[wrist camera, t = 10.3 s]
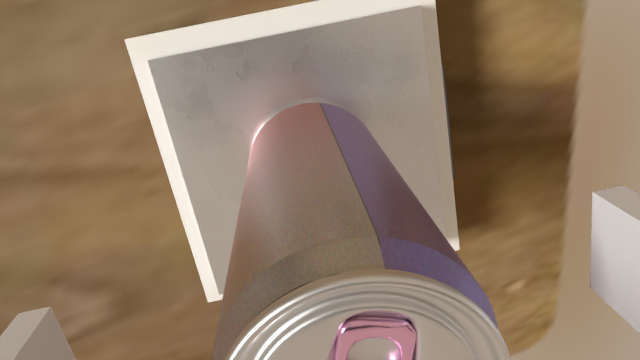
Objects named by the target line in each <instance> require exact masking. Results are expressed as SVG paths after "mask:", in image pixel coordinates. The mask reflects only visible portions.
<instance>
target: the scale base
mask: <svg viewBox="0 0 640 360" xmlns="http://www.w3.org/2000/svg"><path fill="white" fill-rule="evenodd" d="M413 5H421V13H422V23H423V32H424V41H425V50H426V60H427V69H428V78H429V87H430V97H431V106H432V115H433V124H434V134H435V143H436V152H437V161H438V171H439V180H440V189H441V198H442V208H443V217H444V226H445V235H446V239H447V241H448V242H449V243H450V245H451V246H452V248H453V249H454V250H455V251H456V250H460V248H459V238H458V228H457V218H456V207H455V197H454V187H453V180H455V176H454V166H453V155H452V145H451V135H450V124H449V114H448V103H447V93H446V83H445V72H444V65H442V64H441V54H440V44H439V34H438V23H437V13H436V3H435V0H316V1H311V2H306V3H301V4H296V5H291V6H286V7H281V8H276V9H271V10H266V11H261V12H256V13H251V14H246V15H242V16H237V17H232V18H227V19H222V20H217V21H212V22H207V23H202V24H197V25H192V26H187V27H182V28H177V29H172V30H167V31H162V32H157V33H152V34H147V35H142V36H138V37H133V38H129V39H125V43H126V46H127V49H128V52H129V55H130V58H131V61H132V65H133V68H134V71H135V74H136V77H137V80H138V83H139V87H140V90H141V93H142V96H143V99H144V102H145V105H146V109H147V112H148V115H149V118H150V121H151V124H152V127H153V131H154V134H155V137H156V140H157V143H158V146H159V149H160V153H161V156H162V159H163V162H164V165H165V168H166V171H167V174H168V178H169V181H170V184H171V187H172V190H173V193H174V196H175V200H176V203H177V206H178V209H179V212H180V215H181V218H182V222H183V225H184V228H185V231H186V234H187V237H188V240H189V244H190V247H191V250H192V253H193V256H194V259H195V262H196V266H197V269H198V272H199V275H200V278H201V281H202V284H203V288H204V291H205V294H206V297H207V300H208V302H212V301H217V300H222V298H223V294H220V295H219V292H218V289H217V286H216V282H215V279H214V276H213V273H212V269H211V266H210V263H209V260H208V256H207V253H206V250H205V247H204V243H203V240H202V237H201V234H200V230H199V227H198V224H197V221H196V217H195V214H194V211H193V207H192V204H191V201H190V198H189V194H188V191H187V188H186V185H185V181H184V178H183V175H182V172H181V168H180V165H179V162H178V159H177V155H176V152H175V149H174V146H173V142H172V139H171V136H170V133H169V129H168V126H167V123H166V120H165V116H164V113H163V110H162V106H161V103H160V100H159V97H158V93H157V90H156V87H155V84H154V80H153V77H152V74H151V71H150V67H149V64H148V61H147V60H150V59H152V58H156V57H161V56H166V55H171V54H175V53H180V52H185V51H190V50H195V49H200V48H205V47H210V46H215V45H220V44H225V43H230V42H235V41H240V40H245V39H250V38H255V37H260V36H265V35H270V34H275V33H279V32H284V31H289V30H294V29H299V28H304V27H309V26H314V25H319V24H324V23H329V22H334V21H339V20H344V19H349V18H354V17H359V16H364V15H369V14H374V13H379V12H383V11H388V10H393V9H398V8H403V7H408V6H413Z"/></svg>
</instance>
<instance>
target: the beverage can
mask: <svg viewBox="0 0 640 360" xmlns="http://www.w3.org/2000/svg"><path fill="white" fill-rule="evenodd" d="M212 360H511V359H510V355H509V352H508V349H507V346H506V344H505V342H504V340H503V338H502V336H501V334H500V332H499V330H498V325H497V321H496V317H495V314H494V311H493V308H492V306H491V304H490V302H489V300H488V298H487V296H486V294H485V293H484V291H483V289H482V288H481V287H480V285H479V284H478V282H477V281H476V280H475V278H474V277H473V275H472V274H471V273H470V271H469V270H468V268H467V267H466V266H465V264H464V263H463V262H462V260H461V259H460V257H459V256H458V255H457V253H456V252H455V250H454V249H453V248H452V246H451V245H450V243H449V242H448V241H447V239H446V238H445V236H444V235H443V234H442V232H441V231H440V229H439V228H438V227H437V225H436V224H435V222H434V221H433V220H432V218H431V217H430V215H429V214H428V213H427V211H426V210H425V209H424V207H423V206H422V204H421V203H420V202H419V200H418V199H417V197H416V196H415V195H414V193H413V192H412V190H411V189H410V188H409V186H408V185H407V183H406V182H405V181H404V179H403V178H402V176H401V175H400V174H399V172H398V171H397V169H396V168H395V167H394V165H393V164H392V162H391V161H390V160H389V158H388V157H387V155H386V154H385V153H384V151H383V150H382V149H381V147H380V146H379V144H378V143H377V142H376V140H375V139H374V137H373V136H372V135H371V133H370V132H369V130H368V129H367V128H366V126H365V125H364V124H363V123H362V122H361V121H360V120H359V119H358V118H357V117H356V116H354V115H353V114H351V113H350V112H348V111H347V110H345V109H342V108H340V107H338V106H334V105H331V104H326V103H304V104H299V105H295V106H292V107H289V108H287V109H285V110H283V111H281V112H279V113H278V114H276V115H275V116H274V117H272V118H271V119H270V120H269V121H268V122H267V123H266V124H265V125H264V126H263V127H262V129H261V130H260V131H259V133H258V134H257V136H256V138H255V140H254V142H253V145H252V148H251V151H250V156H249V161H248V166H247V172H246V177H245V182H244V187H243V193H242V198H241V203H240V209H239V214H238V219H237V224H236V230H235V235H234V240H233V245H232V251H231V256H230V261H229V266H228V272H227V277H226V282H225V288H224V293H223V298H222V303H221V309H220V314H219V319H218V324H217V330H216V335H215V340H214V346H213V351H212Z"/></svg>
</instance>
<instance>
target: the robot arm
mask: <svg viewBox="0 0 640 360" xmlns="http://www.w3.org/2000/svg"><path fill="white" fill-rule="evenodd" d="M590 273H591V274H590V288H591V289H592V290H593V291H595V292H596V293H597V294H598V295H599V296H600V297H601V298H602V299H603V300H604V301H605V302H606V303H607V304H609V305H610V306H611V307H612V308H613V309H614V310H615V311H616V312H617V313H618V314H619V315H620V316H622V317H623V318H624V319H625V320H626V321H627V322H628V323H629V324H630V325H631V326H632V327H634V328H635V329H636V330H637V331H638V332H639V333H640V194H638V193H636V192H634V191H632V190H631V189H629V188H627V187H625V186H619V187H614V188H609V189H604V190H600V191H595V192H593V193H592V232H591V272H590ZM0 360H76V359H75V357H74V355H73V353H72V350H71V348H70V346H69V344H68V342H67V340H66V338H65V336H64V333H63V331H62V329H61V327H60V325H59V323H58V321H57V319H56V317H55V314H54V312H53V310H52V308H51V307H47V308H42V309H37V310H33V311H28V312H23V313H18V315H17V316H16V317H15V318H14V320H13V321H12V322H11V323H10V325H9V326H8V327H7V329H6V330H5V331H4V332H3V334H2V335H1V336H0Z"/></svg>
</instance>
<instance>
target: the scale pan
mask: <svg viewBox="0 0 640 360" xmlns="http://www.w3.org/2000/svg"><path fill="white" fill-rule="evenodd" d="M147 61H148V64H149V67H150V71H151V74H152V77H153V80H154V84H155V87H156V90H157V93H158V97H159V100H160V103H161V106H162V110H163V113H164V116H165V120H166V123H167V126H168V129H169V133H170V136H171V139H172V142H173V146H174V149H175V152H176V155H177V159H178V162H179V165H180V168H181V172H182V175H183V178H184V181H185V185H186V188H187V191H188V194H189V198H190V201H191V204H192V207H193V211H194V214H195V217H196V221H197V224H198V227H199V230H200V234H201V237H202V240H203V243H204V247H205V250H206V253H207V256H208V260H209V263H210V266H211V269H212V273H213V276H214V279H215V282H216V286H217V289H218V292H219V295H220V294H223V293H224V288H225V282H226V277H227V272H228V266H229V261H230V256H231V251H232V245H233V240H234V235H235V230H236V224H237V219H238V214H239V209H240V203H241V198H242V193H243V187H244V182H245V177H246V172H247V166H248V161H249V156H250V151H251V148H252V145H253V142H254V140H255V138H256V136H257V134H258V133H259V131H260V130H261V129H262V127H263V126H264V125H265V124H266V123H267V122H268V121H269V120H270V119H271V118H272V117H274V116H275V115H276V114H278V113H279V112H281V111H283V110H285V109H287V108H289V107H292V106H295V105H299V104H304V103H326V104H331V105H334V106H338V107H340V108H342V109H345V110H347V111H348V112H350V113H351V114H353V115H354V116H356V117H357V118H358V119H359V120H360V121H361V122H362V123H363V124H364V125H365V126H366V128H367V129H368V130H369V132H370V133H371V135H372V136H373V137H374V139H375V140H376V142H377V143H378V144H379V146H380V147H381V149H382V150H383V151H384V153H385V154H386V155H387V157H388V158H389V160H390V161H391V162H392V164H393V165H394V167H395V168H396V169H397V171H398V172H399V174H400V175H401V176H402V178H403V179H404V181H405V182H406V183H407V185H408V186H409V188H410V189H411V190H412V192H413V193H414V195H415V196H416V197H417V199H418V200H419V202H420V203H421V204H422V206H423V207H424V209H425V210H426V211H427V213H428V214H429V215H430V217H431V218H432V220H433V221H434V222H435V224H436V225H437V227H438V228H439V229H440V231H441V232H442V234H443V235H444V236H445V238H446V235H445V226H444V217H443V208H442V198H441V189H440V180H439V171H438V161H437V152H436V143H435V134H434V124H433V115H432V106H431V97H430V87H429V78H428V69H427V60H426V50H425V41H424V32H423V23H422V13H421V5H413V6H408V7H403V8H398V9H393V10H388V11H383V12H379V13H374V14H369V15H364V16H359V17H354V18H349V19H344V20H339V21H334V22H329V23H324V24H319V25H314V26H309V27H304V28H299V29H294V30H289V31H284V32H279V33H275V34H270V35H265V36H260V37H255V38H250V39H245V40H240V41H235V42H230V43H225V44H220V45H215V46H210V47H205V48H200V49H195V50H190V51H185V52H180V53H175V54H171V55H166V56H161V57H156V58H152V59H150V60H147Z"/></svg>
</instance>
